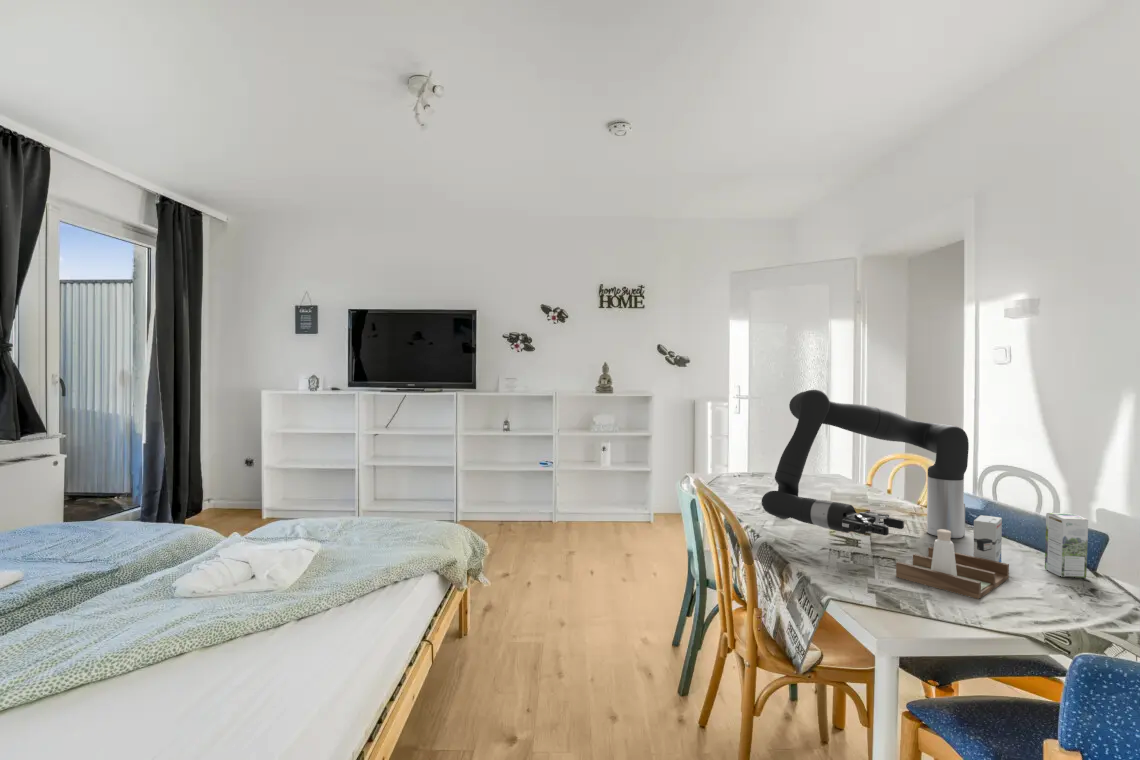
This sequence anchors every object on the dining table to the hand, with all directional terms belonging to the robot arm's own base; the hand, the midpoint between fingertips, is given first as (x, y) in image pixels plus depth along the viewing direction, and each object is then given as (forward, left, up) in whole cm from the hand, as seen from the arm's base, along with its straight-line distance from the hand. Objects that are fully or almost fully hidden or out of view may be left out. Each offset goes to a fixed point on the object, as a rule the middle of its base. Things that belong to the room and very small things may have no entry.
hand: (895, 528), depth 144 cm
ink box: (-25, +6, -11) cm, 28 cm away
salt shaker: (-3, +10, -9) cm, 14 cm away
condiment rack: (-7, +9, -10) cm, 16 cm away
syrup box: (-35, +18, -11) cm, 41 cm away
